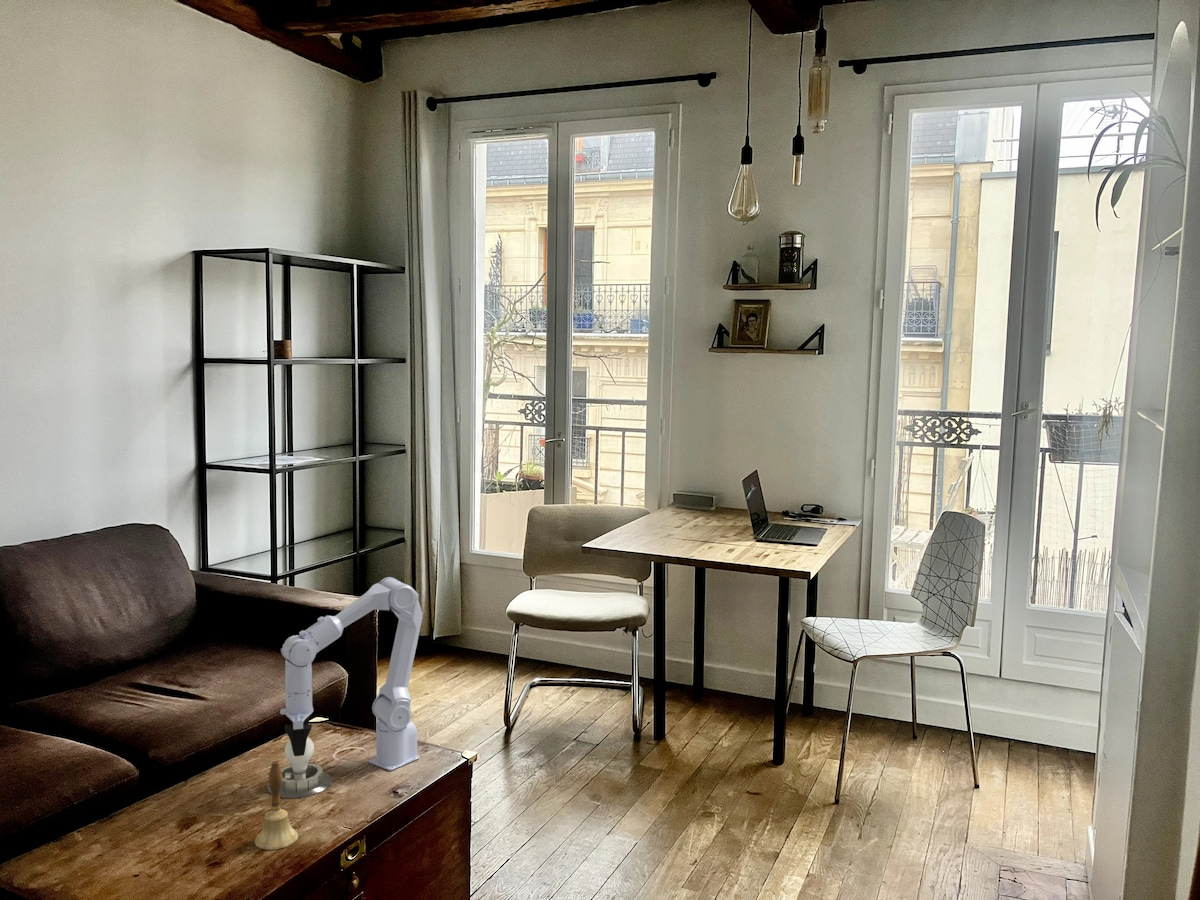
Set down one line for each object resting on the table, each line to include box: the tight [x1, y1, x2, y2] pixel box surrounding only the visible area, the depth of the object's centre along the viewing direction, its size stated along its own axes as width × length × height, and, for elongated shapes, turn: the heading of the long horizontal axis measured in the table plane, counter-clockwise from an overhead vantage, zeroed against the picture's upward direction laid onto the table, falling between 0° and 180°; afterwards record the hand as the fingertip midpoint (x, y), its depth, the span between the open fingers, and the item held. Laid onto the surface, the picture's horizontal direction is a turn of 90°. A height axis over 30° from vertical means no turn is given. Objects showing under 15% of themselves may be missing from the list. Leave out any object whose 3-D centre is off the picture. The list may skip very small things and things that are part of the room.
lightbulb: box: [284, 736, 315, 780], centre depth 212 cm, size 6×6×11 cm
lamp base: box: [266, 762, 333, 799], centre depth 212 cm, size 14×14×3 cm
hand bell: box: [254, 760, 299, 851], centre depth 187 cm, size 8×8×16 cm
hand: (299, 748), depth 211 cm, fingers open, 7 cm apart
